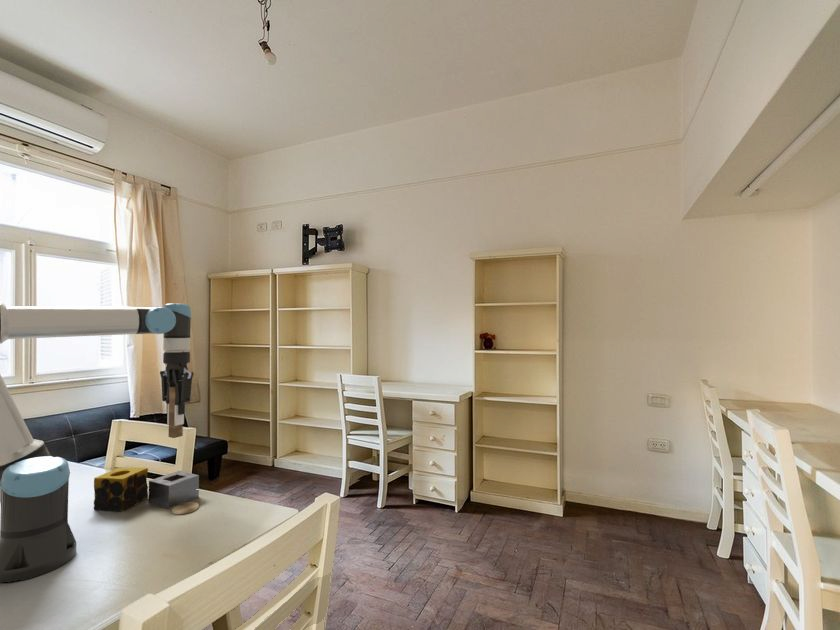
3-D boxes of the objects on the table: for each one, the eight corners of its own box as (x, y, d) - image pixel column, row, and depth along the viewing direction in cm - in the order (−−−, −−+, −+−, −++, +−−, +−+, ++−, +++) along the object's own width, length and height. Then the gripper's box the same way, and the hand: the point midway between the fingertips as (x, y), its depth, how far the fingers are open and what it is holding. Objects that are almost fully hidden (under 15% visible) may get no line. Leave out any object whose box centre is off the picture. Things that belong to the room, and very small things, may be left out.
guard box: (168, 508, 125) (168, 485, 125) (148, 503, 129) (148, 480, 129) (198, 496, 134) (198, 475, 134) (178, 491, 138) (179, 470, 138)
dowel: (174, 438, 130) (175, 387, 130) (168, 437, 131) (169, 387, 131) (182, 435, 132) (183, 386, 133) (176, 435, 133) (177, 385, 134)
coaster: (181, 516, 120) (181, 514, 120) (166, 511, 123) (166, 509, 123) (203, 506, 126) (203, 505, 126) (188, 502, 129) (188, 500, 129)
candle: (148, 498, 133) (149, 467, 133) (123, 512, 123) (124, 478, 123) (120, 497, 134) (120, 466, 134) (92, 510, 124) (93, 477, 124)
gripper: (204, 351, 132) (202, 424, 132) (172, 350, 139) (170, 419, 138) (182, 352, 126) (180, 429, 125) (149, 351, 132) (148, 424, 131)
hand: (175, 423), depth 131 cm, fingers closed on dowel, 3 cm apart
